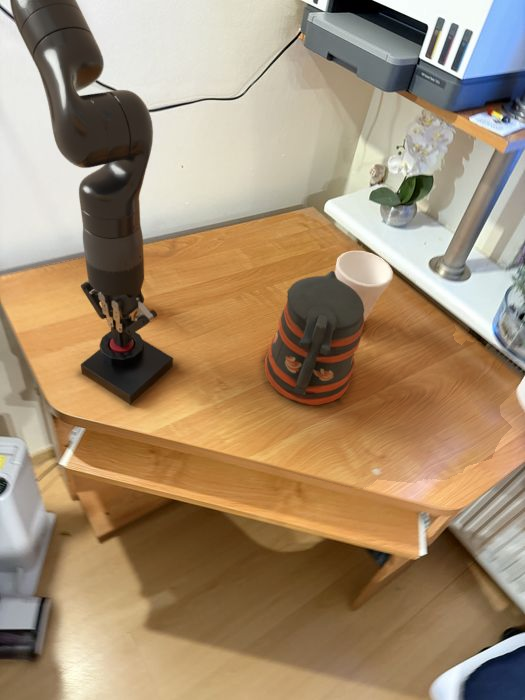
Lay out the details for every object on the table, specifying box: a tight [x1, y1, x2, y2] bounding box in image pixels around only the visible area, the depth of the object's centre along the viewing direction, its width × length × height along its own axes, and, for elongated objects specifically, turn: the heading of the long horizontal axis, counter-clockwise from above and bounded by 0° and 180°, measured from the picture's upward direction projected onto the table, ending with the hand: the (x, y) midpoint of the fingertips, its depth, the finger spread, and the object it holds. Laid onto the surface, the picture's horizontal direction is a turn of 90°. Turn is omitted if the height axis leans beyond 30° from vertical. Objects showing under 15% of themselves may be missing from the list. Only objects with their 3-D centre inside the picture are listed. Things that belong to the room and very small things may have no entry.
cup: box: [334, 250, 394, 323], centre depth 93 cm, size 10×10×13 cm
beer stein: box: [264, 270, 366, 406], centre depth 79 cm, size 19×15×20 cm
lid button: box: [110, 338, 134, 354], centre depth 81 cm, size 4×4×2 cm
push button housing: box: [80, 330, 174, 406], centre depth 81 cm, size 10×10×4 cm
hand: (122, 342), depth 81 cm, fingers closed
